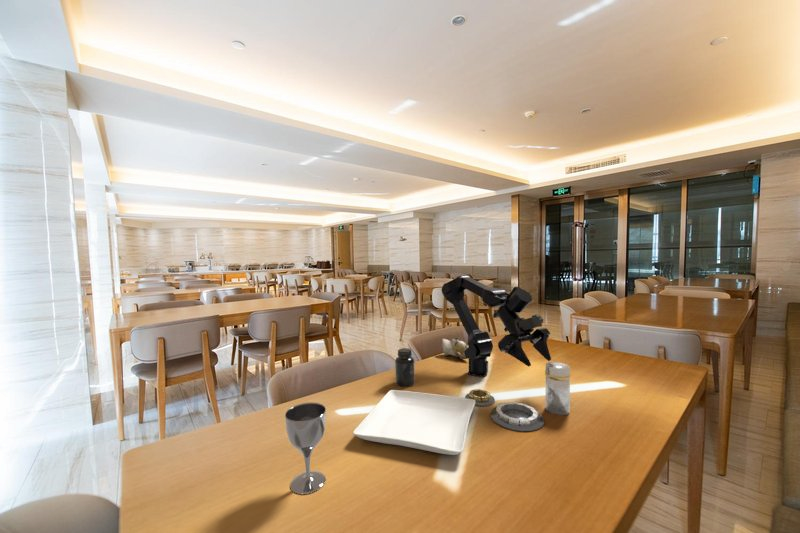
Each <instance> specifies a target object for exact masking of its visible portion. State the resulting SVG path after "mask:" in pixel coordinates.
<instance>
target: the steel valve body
mask: <svg viewBox="0 0 800 533" xmlns="http://www.w3.org/2000/svg"><path fill="white" fill-rule="evenodd" d="M544 375H545V410H546V411H547V412H549V413H551V414H554V415H558V416H566V415H569V414H570V413H571V412H570V411H571V396H570V395H571V378H572V377H571V376H572V375H571V366H570V365H568V364H567V363H563V362H557V361H556V362H555V361H551V362H550V361H548V362H546V363H545V370H544Z"/></svg>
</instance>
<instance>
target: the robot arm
mask: <svg viewBox="0 0 800 533" xmlns="http://www.w3.org/2000/svg"><path fill="white" fill-rule="evenodd" d="M466 290H467V291H468V292H471V293H472V294H475V295H476V296H478V297H479V298H481V301H482V302H483V303H484V304H485V305H486V306H488V307H489V308H495V307H498V309H494V310H493V314H492V318H494V319H495V318H499V319H500V321H501V322H502V324H503V325H504V329H503V330H504V332H505V333H506V332H508V333H509V334H505V335H504V336H503V337H502V338H501V339H500V340H499V341H498V342H497V346H498V347H497V348H498V349H499V352H502V353H503V352H504V353H505V354H508V355H510V356H511V357H513V358H515V359H516V360H518V361H519V362H520V363H522V364H524V365H525V366H527V367H530V366H532V364H531V361H530V359H529V358H528V356H527V354H526V353H525V351H524V349H523V347H522V345H523V344H522V343H527V342H529V343H530V344H532V347H533V348H534V349H535V350H536V351H537V352H538V353H539V354H540V355H541V356H542V357H543V358H544V359H545V360H547V361H548V362H550V361H551V360H552V357H551V354H550V351H549V347H548V343H547V342H548V339H549V338H550V335H551V332H550V331H549V329H548V328H546V327H543V324H544V318H543V317H542V316H541V314H540V313H537V314H534V315H531V317H528V318H525V317H521V316H520V315H519V313H522V312H523V311H524V310H525V309H526V308H527V306H528V305H530V303H531V302H532V301H533V297H532V294H530V292H528V291H527V290H525V289H523V288H521V287H520V286H514V287H513V288H512V290H511V291H510V292H509V293H508V292H507V291H506V290H505V289H502V288H498V287H490V286H487V285H486V284H484V283H482V282H480V281H478V280H476V279H474V278H472V277H471V276H470V275H458V276H456V277H455V278H454V279H452V280H450V281H448V282H445V283H444V284H442V287H441V294H442V295H443V296H444V298H445V300H446V301H448V302H449V303H450V304H452V305H453V308H454V309H455V312H456V314H457V316H458V318H459V320H460V322H461V324H462V327H464V330H465V332H466V334H467V343H466V344H467V347H468V348H467V349H466V350H465V351H464V354H465V357H466V358H468V359H467V360H468V371H467V375H470V376H475V377H483V378H484V377H486V375H487V374H488V373H489V361H488V360H487V358H489V357H490V358H491V354H492V352H493V349H494V345H493V339H492V338H491V337H490V335H489V333H488V331H482V330H481V329H480V327H479V326H478V324H477V321H476V320H475V318H474V316H473V314H472V312H471V310H470V308H469V306H468V305H467V303H466V301H465V291H466ZM539 327H541V328H539Z"/></svg>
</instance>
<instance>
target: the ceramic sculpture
mask: <svg viewBox="0 0 800 533" xmlns="http://www.w3.org/2000/svg"><path fill="white" fill-rule="evenodd" d="M441 346H442V350H443V354H444V356H450V355H451V356H453V357H455V358H458V357H459V359H460V360H466V359H467V360H469V359H468V358H466V357H465V354H464V351H465V350H466V349H467V348H468V347H469V346H468V343H466V342H465V341H463V340H459V338H458V337H455V338H452V339H451V340H448V339H447V338H443V337H442V339H441Z"/></svg>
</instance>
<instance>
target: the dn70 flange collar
mask: <svg viewBox="0 0 800 533" xmlns="http://www.w3.org/2000/svg"><path fill="white" fill-rule="evenodd" d="M490 418H491V420H492V421H493V422H494V423H495V424H497V426H500V427H502V428H504V429H507V430H511V431H514V432H525V433H527V432H534V431H538V430H540V429H542V428H543V427H544V424H545V419H544V416H543V415H542V414H540V413H539V411H537V410H536V409H535V408H534V407H532V406H530V405H528V404H526V403H522V402H515V401H509V402H508V401H505V402H502V403H500V404H498V405H497V406H495V407H493V408H492V409H491V411H490Z"/></svg>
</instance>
